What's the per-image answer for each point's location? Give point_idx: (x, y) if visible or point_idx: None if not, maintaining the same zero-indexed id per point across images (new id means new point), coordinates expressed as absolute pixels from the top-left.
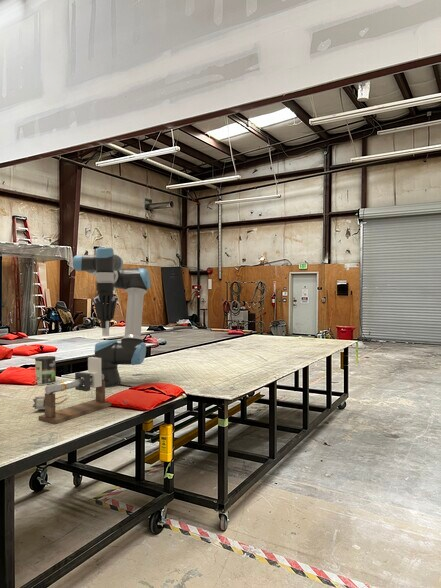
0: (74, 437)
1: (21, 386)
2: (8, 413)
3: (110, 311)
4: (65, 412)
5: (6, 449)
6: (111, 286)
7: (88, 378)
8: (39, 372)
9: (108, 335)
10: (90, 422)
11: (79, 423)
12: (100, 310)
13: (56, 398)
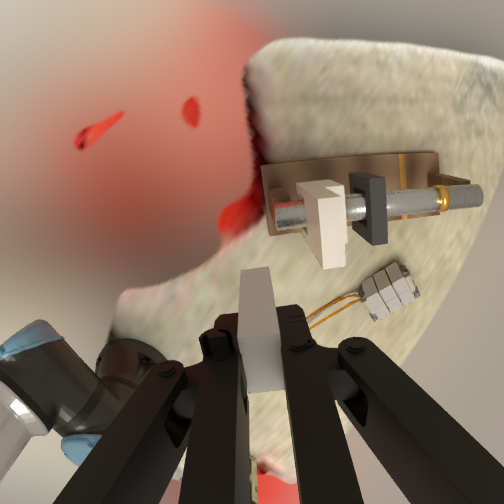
0: (444, 51)
1: (283, 468)
2: (431, 311)
3: (192, 433)
4: (396, 185)
5: None
6: None
7: (370, 176)
8: (255, 480)
9: (248, 269)
10: (383, 89)
11: (402, 106)
12: (423, 417)
13: (349, 303)
